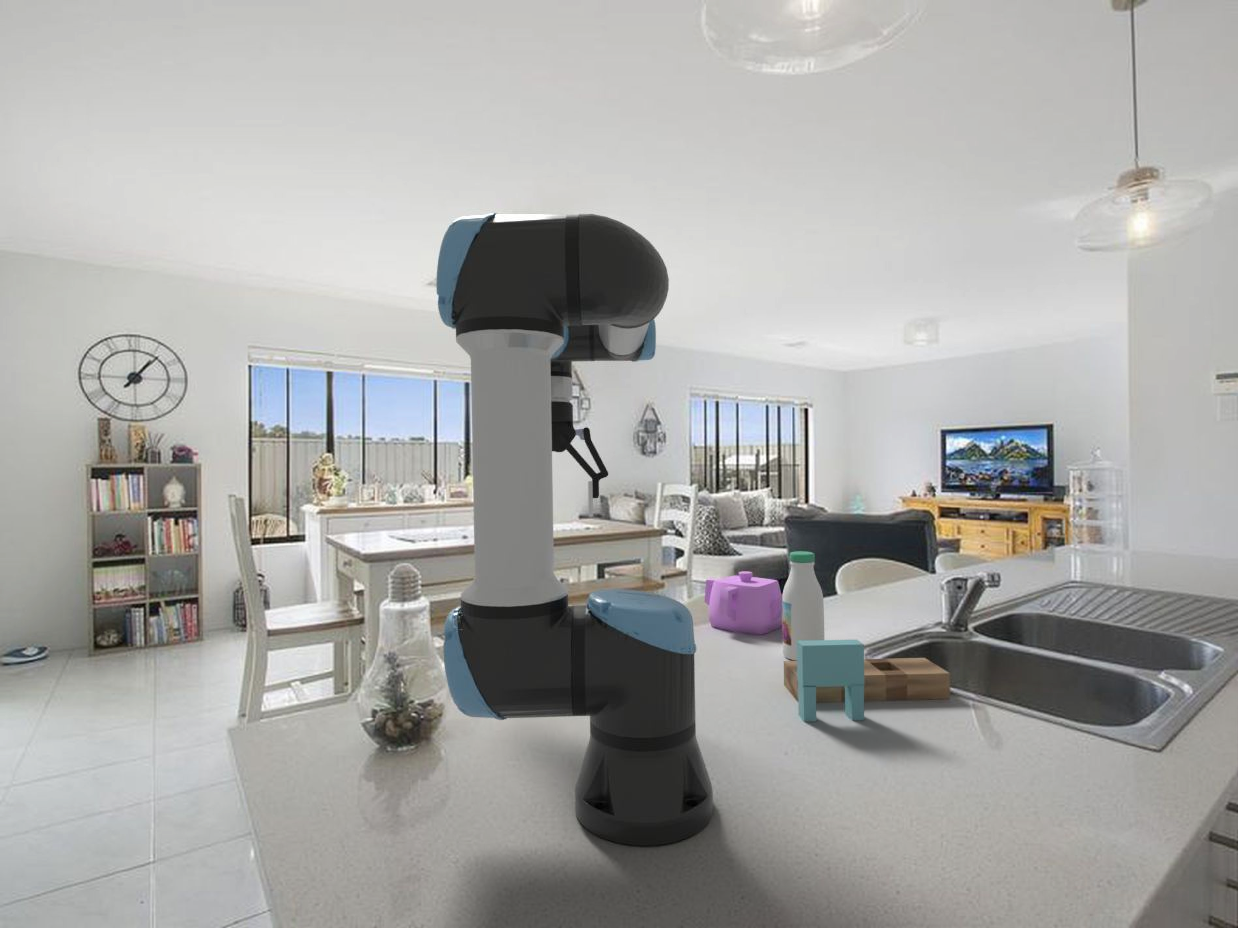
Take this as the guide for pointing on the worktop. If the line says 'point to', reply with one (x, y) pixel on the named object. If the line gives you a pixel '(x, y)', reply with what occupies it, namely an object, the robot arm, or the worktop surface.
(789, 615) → the milk bottle
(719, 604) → the teakettle
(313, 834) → the worktop surface
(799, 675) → the clip
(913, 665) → the wooden slotted block
